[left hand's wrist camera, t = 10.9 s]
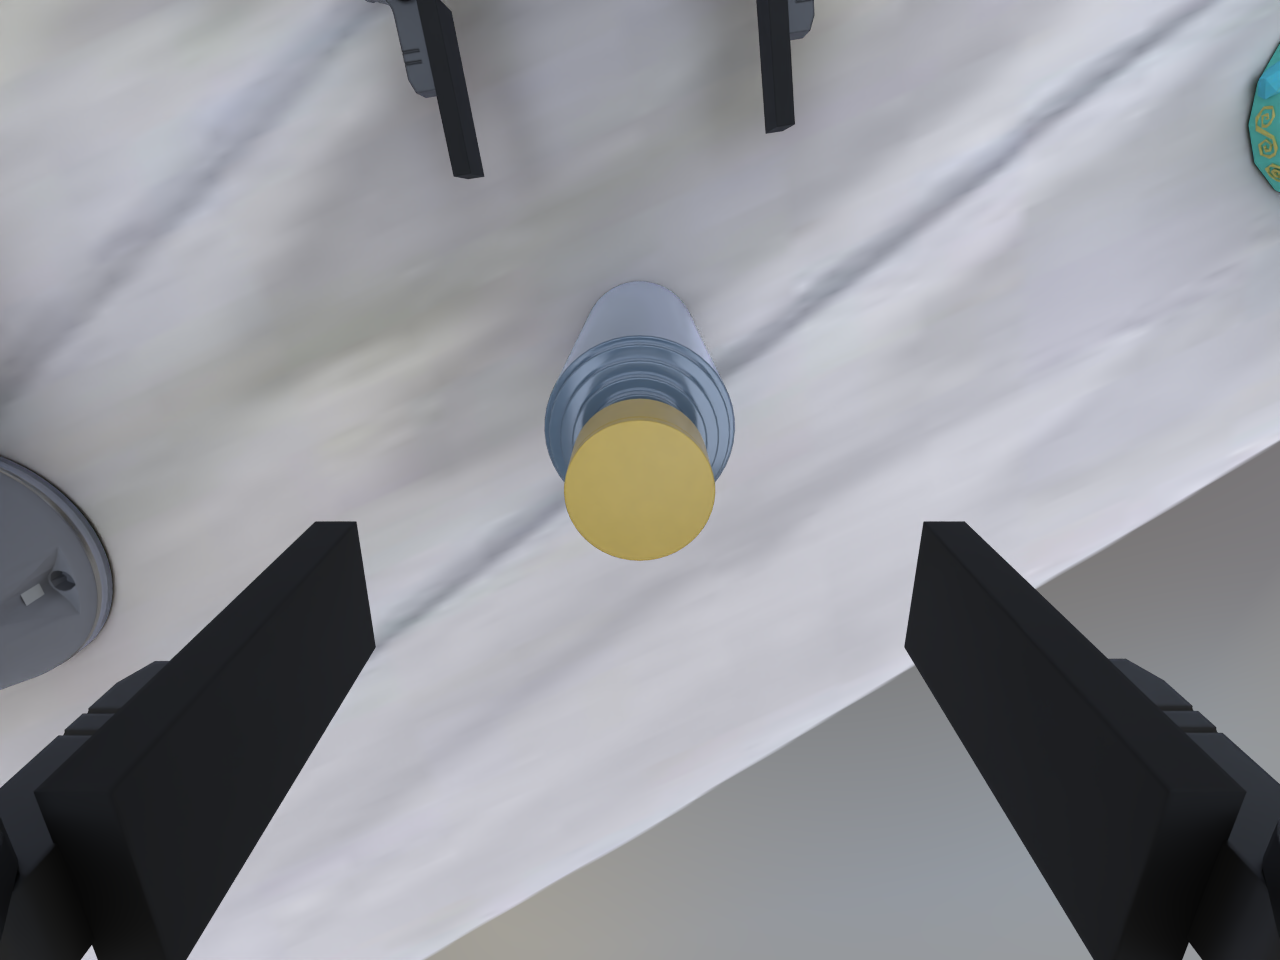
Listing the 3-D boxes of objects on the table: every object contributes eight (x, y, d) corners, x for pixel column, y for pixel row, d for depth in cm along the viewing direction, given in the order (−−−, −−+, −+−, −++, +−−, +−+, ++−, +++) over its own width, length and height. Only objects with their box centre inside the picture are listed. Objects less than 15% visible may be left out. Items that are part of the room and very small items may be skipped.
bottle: (650, 257, 38) (663, 317, 17) (716, 347, 40) (805, 508, 18) (562, 327, 40) (470, 466, 18) (630, 412, 41) (619, 632, 20)
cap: (652, 369, 19) (654, 389, 17) (734, 475, 20) (745, 506, 18) (544, 452, 20) (532, 480, 18) (627, 549, 21) (626, 587, 19)
